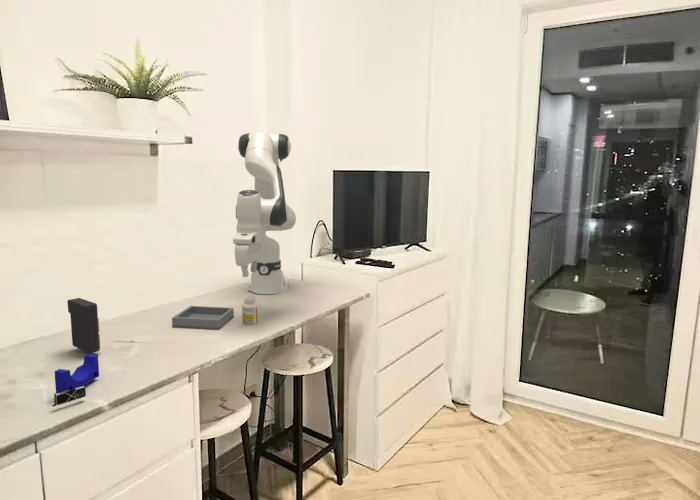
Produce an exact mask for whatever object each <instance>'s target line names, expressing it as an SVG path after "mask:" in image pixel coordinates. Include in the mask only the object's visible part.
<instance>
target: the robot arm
mask: <svg viewBox="0 0 700 500" xmlns="http://www.w3.org/2000/svg"><path fill="white" fill-rule="evenodd" d="M291 148H292V145H291V141H290V138H289V136H287V135H286V134H283V133H279V134H278V133H274V132H264V131H256V132H254V133H249V132H248V133H244V134H242V135H240V137H239V139H238V142H237V150H238V152H239V155H240V156H241V157H242V158H244V167H245V169H246V171H247V172H248V173H249V174H250V175H251V176H252V177H253V178H254V189H245V190H244V189H243V190H240V191H239V192H238V194H237V199H236V206H235V218H236V220H237V223H236V232H235V235H234V237H233V238H232V239H233V243H232V244H234V259H235V260H234V262H235V265H236V266H237V267H240V269H241V272H242V277H243V278H248V277H249V275H250V286H248V287H247V291H248V292H252V293H253V294H258V295H276V294H282V292H283V293H287V292H288V291H289V282H286V281H285V276H284V272H283V271H282V260H281V258H280V254H281V253H280V250H281V249H280V244H279V242H278V241H277V240H275V239H273V238H272V237H269V236H267V233H266V232H279V231H287V230H291V229H293V228H294V226H295V224H296V221H297V215H296V212H295V211H294V210H293V208H291V207H290V206H289V205H288V204H287V202H286V197H285V194H286V193H285V188H284V187H285V186H284V180H283V175H282V170H281V168H280V163H281V162H283V160H285V159H287V158H288V157H289V156H290V152H291ZM249 265H250V272H251V274H250V273H249V269H248V267H249Z"/></svg>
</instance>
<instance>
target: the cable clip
mask: <svg viewBox="0 0 700 500" xmlns="http://www.w3.org/2000/svg"><path fill="white" fill-rule="evenodd" d="M99 367H100V363H99V355H98V354H93V353H87V354H86V355H84V356H83V363H82V364H81V365H79V366H77V367H76V368H75V370H74V372H73V373H72V374H71V370H70V369H62V368H58V369H57V370H54V384H55V394H58V393H60V392H64V391H67V390H70V391H71V390H72V389H73V390H74V389H75V388H78V387H82V386H84V387H85V385H86V384H88V383H90V382H92V381H93V380H95V379H97V378H98V377H100V368H99Z"/></svg>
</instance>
